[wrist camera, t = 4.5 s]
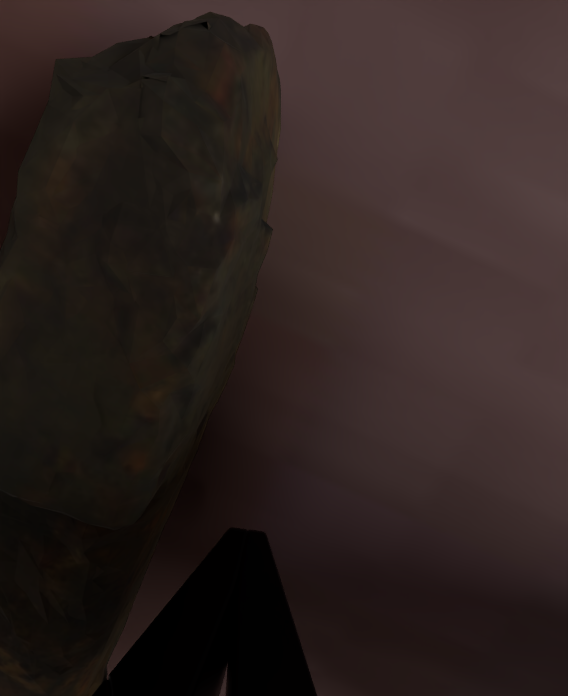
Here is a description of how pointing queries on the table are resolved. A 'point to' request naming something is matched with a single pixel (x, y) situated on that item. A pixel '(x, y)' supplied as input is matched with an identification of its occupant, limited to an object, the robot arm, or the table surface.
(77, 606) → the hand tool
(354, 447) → the table surface
